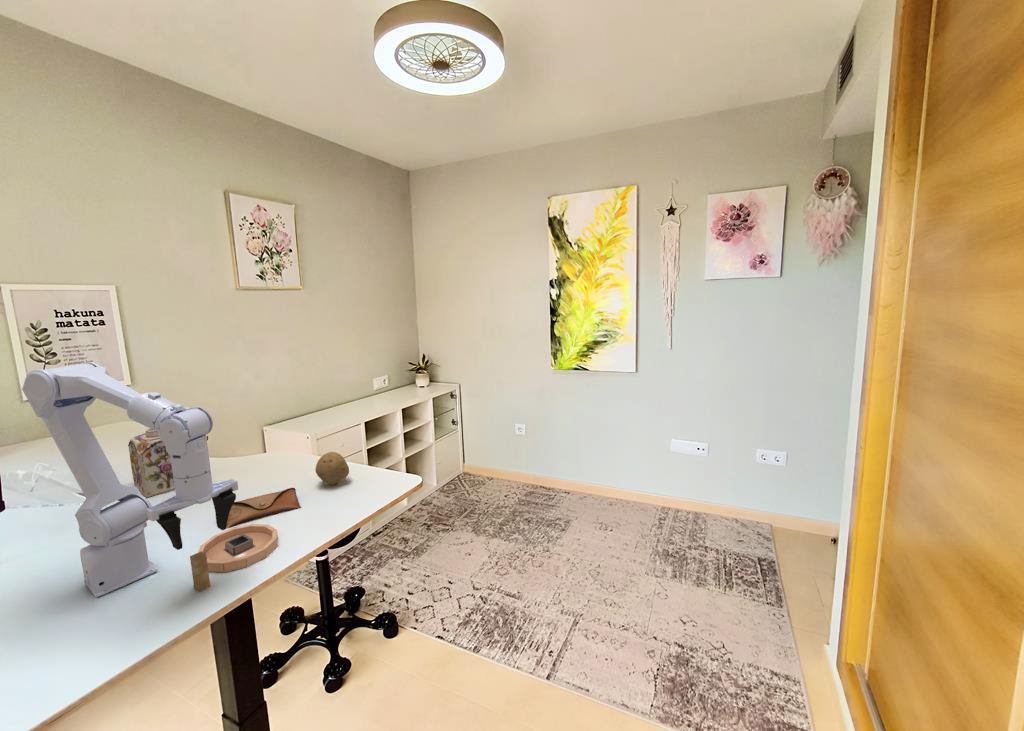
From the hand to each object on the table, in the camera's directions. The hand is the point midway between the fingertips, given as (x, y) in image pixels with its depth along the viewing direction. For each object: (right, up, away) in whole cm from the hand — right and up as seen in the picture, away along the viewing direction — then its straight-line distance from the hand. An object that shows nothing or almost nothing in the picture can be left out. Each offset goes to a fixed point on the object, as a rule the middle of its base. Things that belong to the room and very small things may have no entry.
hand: (200, 537), depth 83 cm
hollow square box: (0, -8, +12) cm, 15 cm away
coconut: (+6, -2, +46) cm, 46 cm away
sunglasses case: (-5, -6, +29) cm, 30 cm away
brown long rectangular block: (0, -10, 0) cm, 10 cm away
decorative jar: (-43, -3, +44) cm, 61 cm away
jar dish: (0, -8, +12) cm, 15 cm away
